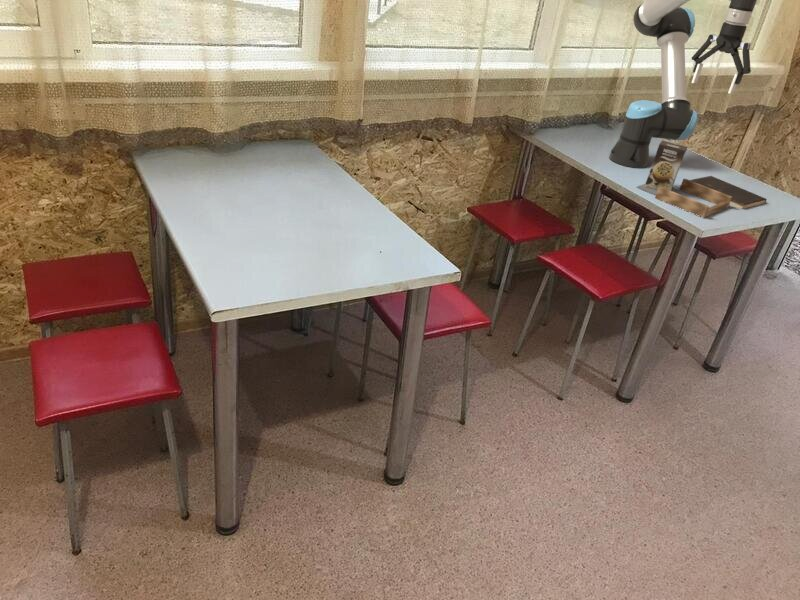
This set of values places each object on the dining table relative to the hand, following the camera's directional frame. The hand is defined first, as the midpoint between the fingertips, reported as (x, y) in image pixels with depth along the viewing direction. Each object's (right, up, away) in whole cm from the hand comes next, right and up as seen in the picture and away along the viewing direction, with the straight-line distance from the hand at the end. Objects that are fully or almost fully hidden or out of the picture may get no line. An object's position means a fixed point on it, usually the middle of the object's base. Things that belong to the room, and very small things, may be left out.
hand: (712, 87), depth 229 cm
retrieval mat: (-16, -34, +8) cm, 38 cm away
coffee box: (-16, -34, +8) cm, 38 cm away
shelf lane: (-7, -40, 0) cm, 41 cm away
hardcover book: (+11, -36, +13) cm, 39 cm away
